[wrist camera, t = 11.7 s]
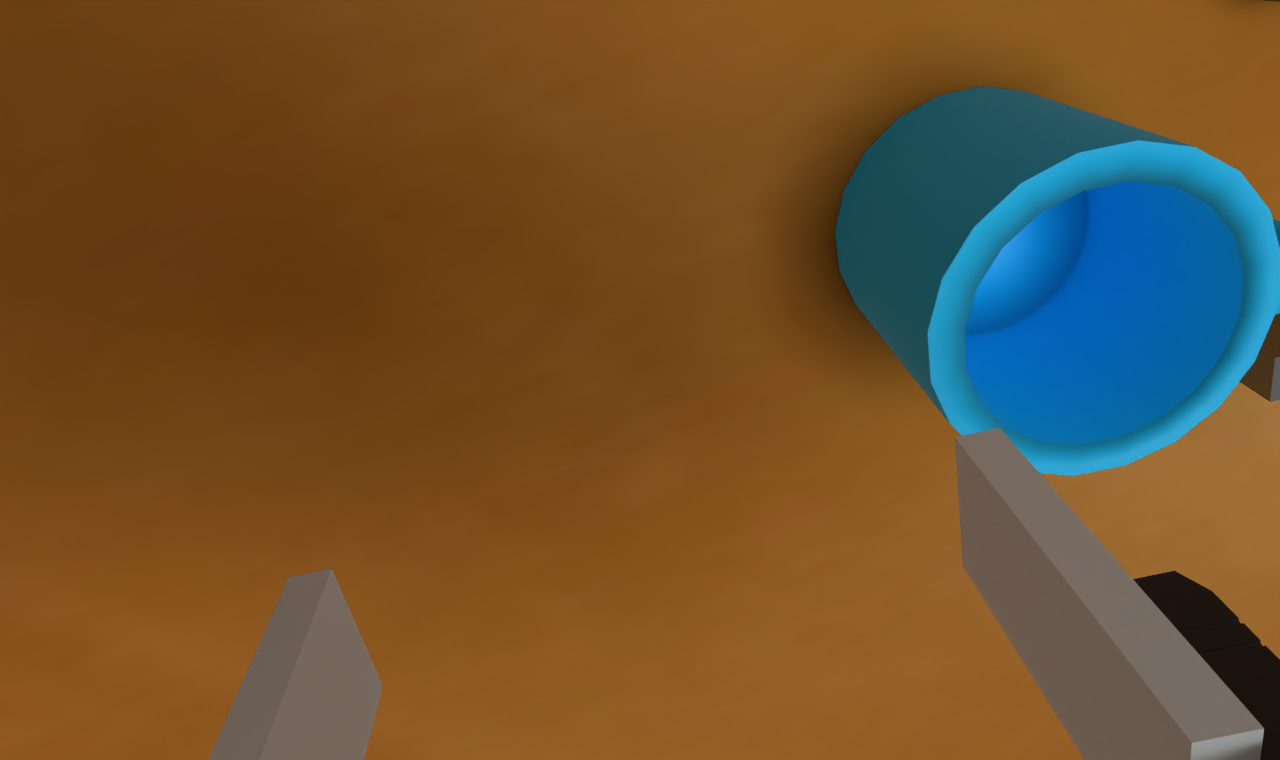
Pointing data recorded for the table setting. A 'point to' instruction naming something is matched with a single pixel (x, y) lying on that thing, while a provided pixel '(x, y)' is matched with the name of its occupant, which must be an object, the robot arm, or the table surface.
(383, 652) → the table surface
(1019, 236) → the mug
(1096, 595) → the robot arm
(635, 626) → the table surface
